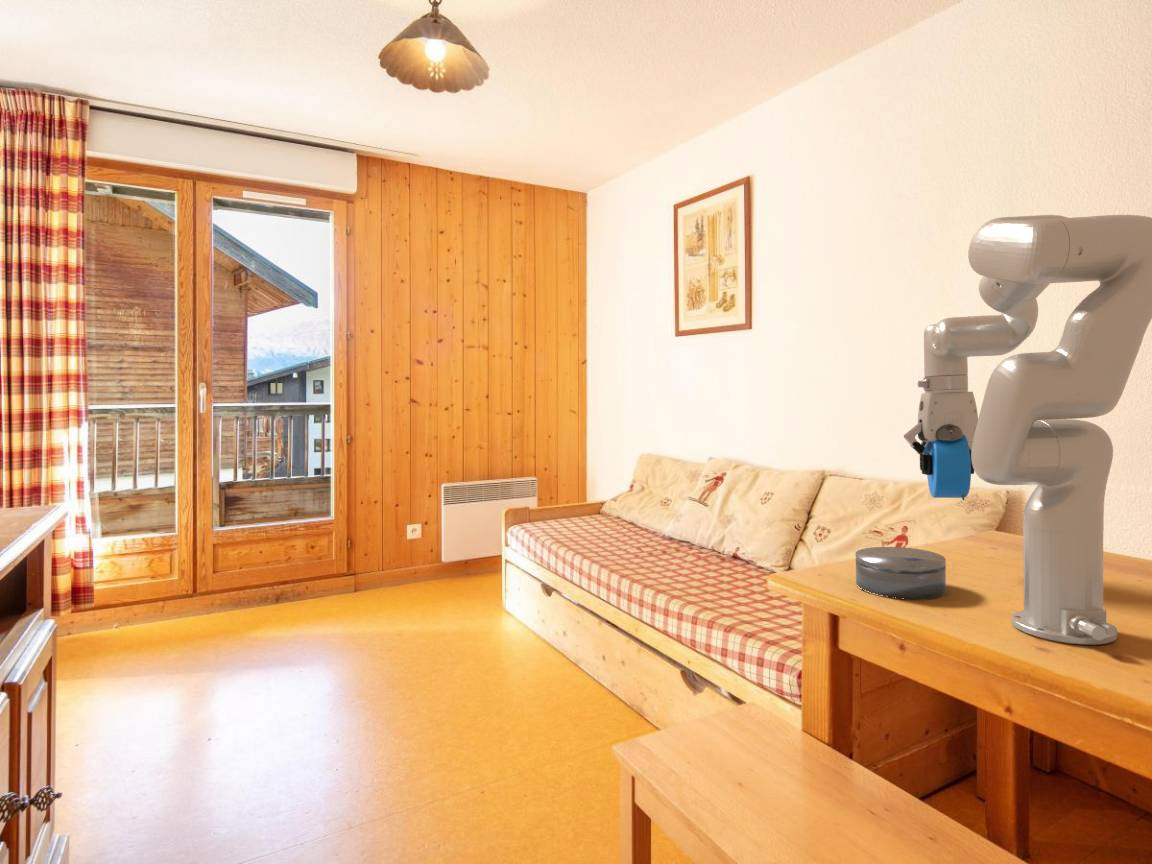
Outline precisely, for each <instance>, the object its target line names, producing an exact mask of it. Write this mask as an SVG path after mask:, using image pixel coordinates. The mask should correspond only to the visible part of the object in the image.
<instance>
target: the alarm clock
mask: <svg viewBox="0 0 1152 864" xmlns="http://www.w3.org/2000/svg"><path fill="white" fill-rule="evenodd" d="M936 438H937V439H939V440H936V441H933V442H932V449H931V451H930V455H932V468H933V474H932V475H927V483H928V489H929V493H930V495H931V497H933V498H935V499H936V498H937V499H938V498H940V499H949V498H950V499H955V498H956V499H957V498H959V499H962V501H965V498H967V496H968V495H969V492H970V489H971V481H972V478H971V476H972V474H971V461H970V452H969V446H968V441H967V438H966V436H965V435H963V432H962V430H961V429H960V428H959V427H958V426H956V425H953V424H946V425H943V426H941V427H940V428H938V430H937V431H936Z"/></svg>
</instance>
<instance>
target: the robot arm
mask: <svg viewBox="0 0 1152 864" xmlns="http://www.w3.org/2000/svg"><path fill="white" fill-rule="evenodd" d="M967 254H968V255H967V256H968V258H967V259H968V263H969V265H970V267H971V269H972V270H973V271H974V272H975V273H976V274H978V275H979V276H982V277H981V279H980V280H979V284H978V292H979V295H980V298H981V300H983V302H984V303H985V304H986V305H987V306H989V307H990V308H992V309H993V310H995V311H996V312H999V313H1001V314H999V315H995V314H994V315H993V314H991V315H971V316H956V317H955V316H954V317H947V318H943V319H942V320H939V321H938V322H937V323H934V324H930V325H927V327H925V329H924V331H923V357H924V358H923V360H924V361H923V362H924V364H923V365H924V368H923V369H924V377H923V379H922V380H918V381H917V387H918V388H922V389H923V391H924V392H923V393H921V394H920V395H921V396H920V399H919V406H918V411H917V424H916V425H915V426H913V427H912V428H910V430H908V431H907V432H906V433H905V434H904V435H903V438H904V439H905V440H906V442H907V443H908V444H909V445H910V447H911V448H912V449H913V450H915V451H916V453H917V454H918V455H919V470H920V471H921V474H922V475H932V474H933V468H932V455H930V451H931V449H932V442H933V441H936V440H939V439H937V438H936V431H937V430H938V428H940V427H941V426H943V425H946V424H953V425H956V426H958V427H959V428H960V429H961V430H962V432H963V435H965V436H966V438H967V441H968V446H969V452H970V461H971V475H973V474H976V476H978V478H979V479H981V480H982V481H984V482H986V483H988V484H991V485H996V486H998V485H999V486H1030V485H1031V486H1033V485H1034V486H1035V485H1036V487H1035V488H1034V490H1033V491H1032V492H1031V494H1030V496H1029V497H1028V500H1027V501H1026V503H1025V507H1024V511H1023V520H1022V521H1023V527H1022V528H1023V529H1022V531H1023V535H1022V536H1023V539H1022V542H1023V543H1022V544H1023V545H1022V547H1023V548H1022V549H1023V610H1019V611H1015V612H1014V613H1012V614H1011V624H1012V625H1013V627H1015V628H1016V629H1017V630H1019V631H1021V632H1023V633H1025V634H1027V635H1028V634H1029V635H1031V636H1034V637H1037V638H1040V639H1045V640H1049V641H1054V642H1059V643H1065V644H1072V645H1073V644H1074V645H1085V646H1087V645H1090V646H1093V645H1095V646H1096V645H1097V646H1098V645H1106V644H1110V643H1113V642H1114V641H1116V640H1117V638H1118V629H1117V627H1116V626H1115V625H1113V624H1110V623H1108V622H1107V610H1106V609H1104V527H1105V525H1104V524H1105V523H1104V522H1105V521H1104V518H1105V517H1104V516H1105V514H1104V510H1105V496H1106V489H1107V484H1108V480H1109V474H1110V472H1111V468H1112V463H1113V458H1114V457H1113V456H1114V448H1113V447H1114V445H1113V442H1112V439H1111V437H1110V436H1109V434H1108V433H1107V432H1106V430H1104V429H1103V428H1102V427H1101V426H1099V425H1097V424H1095V423H1093V422H1090V421H1087V420H1081V419H1088V418H1098V417H1101V416H1105V415H1107V414H1109V413H1111V412H1112V411H1113V410H1114V409H1115V408H1116V406H1117V405H1118V403H1119V402H1120V400H1121V397H1122V395H1123V392H1124V390H1125V388H1126V385H1127V383H1128V380H1129V377H1130V374H1131V372H1132V370H1133V367H1134V364H1135V361H1136V359H1137V356H1138V354H1139V351H1140V347H1142V346H1141V345H1142V343H1143V341H1144V340H1143V339H1144V336H1145V334H1146V332H1147V329H1148V327H1149V325H1150V323H1151V321H1152V217H1150V216H1146V215H1138V214H1137V215H1136V214H1109V215H1107V214H1106V215H1094V216H1092V215H1091V216H1075V217H1068V216H1063V215H1057V214H1041V215H1040V214H1037V215H1024V216H1023V215H1021V216H1020V215H1019V216H1005V217H995V218H994V219H990V220H988V221H987V222H984V223H983V224H982V225H981V226H980V227H979V228H978V229H977V231H976V232H975V234H974V235H973V237H972V239H971V241H970V243H969V246H968V253H967ZM1081 282H1099V285H1098V287H1097V288H1095V290H1093V291H1091V293H1089V294H1088V295H1086V296H1085V298H1083V299H1082V300H1081V301H1080V302H1079V304H1078V305H1077V306H1076V307H1075V308H1074V309H1073V311H1072V312H1071V313H1070V315H1069V316H1068V318H1067V319H1066V322H1065V324H1064V328H1063V332H1062V334H1061V338H1060V341H1059V343H1058V345H1057V347H1056V348H1054V350H1050V351H1042V352H1039V351H1038V352H1024V353H1017V354H1013V355H1011V356H1008V357H1006V358H1005V359H1003V360H1001V362H999V363H998V364H997V366H996V367H995V368H994V369H993V371H992V372H991V374H990V377H989V379H988V380H987V381H988V382H987V384H986V388H985V393H984V395H983V396H984V397H983V400H982V403H981V406H980V411H979V414H978V408H977V403H976V399H975V395H974V392H973V391H969V372H968V371H969V369H968V366H969V365H968V358H970V357H972V358H973V357H995V356H996V357H997V356H1003V355H1007V354H1008V353H1011V352H1012V351H1014V350H1016V349H1017V348H1018V347H1020V345H1021V344H1022V343H1024V341H1026V340H1027V339H1028V338H1029V337H1030V336H1031V334H1032V333H1033V331H1034V330H1035V328H1036V326H1037V325H1036V324H1037V321H1038V317H1039V305H1038V301H1037V298H1038V297H1039V296H1040V295H1041V294H1042V293H1043V292H1044V291H1045V289H1047V288H1048V286H1049V285H1051V284H1061V283H1065V284H1066V283H1081ZM916 437H917V438H918V440H919V441H921V442H919V441H917V439H916Z"/></svg>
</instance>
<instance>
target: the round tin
mask: <svg viewBox="0 0 1152 864" xmlns="http://www.w3.org/2000/svg"><path fill="white" fill-rule="evenodd" d="M946 561H947V560H946V557H944V555H942V554H940V553H937V552H934V551H930V550H925V549H920V548H912V547H903V546H902V547H901V546H873V547H866V548H862V549H859V550H857V551H855V580H856V581H855V585H856V584H857V585H858V586H859V587H860V588H862V589H864V590H866V591H869V592H871V593H875V594H878V595H883V596H888V597H894V598H895V597H896V598H904V599H919V600H918V601H921V600H920V599H927V600H934V599H938V597H939V598H942V597H943V596H945V595H946V592H947V582H946V581H947V576H946V575H947V574H946V572H947V569H946V566H947V565H946ZM894 598H893V599H894ZM933 598H934V599H933ZM904 599H903V600H904Z"/></svg>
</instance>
